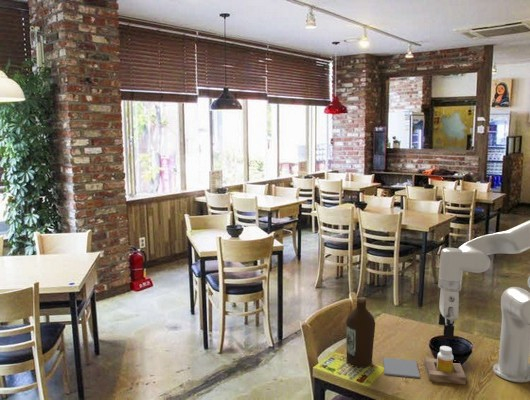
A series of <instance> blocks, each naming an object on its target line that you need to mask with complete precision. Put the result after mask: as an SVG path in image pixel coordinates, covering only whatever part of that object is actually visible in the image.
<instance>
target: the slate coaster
mask: <svg viewBox="0 0 530 400" xmlns="http://www.w3.org/2000/svg"><path fill="white" fill-rule="evenodd" d="M382 363H383V370H384V372H383V373H384V376H392V377H393V376H394V377H402V378H403V377H404V378H411V379H412V378H413V379H421V375H420V370H419V368H418V365H417V364H418V363H417V360H413V359H404V358H394V357H393V358H392V357H382Z"/></svg>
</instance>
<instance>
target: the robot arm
mask: <svg viewBox="0 0 530 400" xmlns="http://www.w3.org/2000/svg"><path fill="white" fill-rule="evenodd" d="M529 249H530V219H529V220H527V221H525V222H523V223H520V224H518V225H516V226H514V227H511V228H509V229H507V230H503V231H499V232H494V233H491V234H485V235H481V236H479V237H476V238H474V239H473V238H472V239H470V240H469V241H467V242H465V243H463V244H462V245H460V246H459V247H458V248H457V247H456V248H455V247H443V248H442V249H441V250H440V257H439V258H440V259H439V271H438V282H437V286H438V288H439V289H440V293H439V294H440V295H439V306H438V307H439V315H438V325H439V326H443V336H444V337H451V338H452V337H453V338H454V335H455V319H456V320H458V319H459V308H460V307H459V306H460V305H459V304H460V294H459V293H460V291H461V290H462V284H463V275H464V274H463V273H464V272H470V273H475V274H479V273H484V272H486V271H488V269H489V268H490V267H491V259H490V257H489V255H494V254H495V255H496V254H510V255H511V254H512V255H513V254H514V255H516V254H521V253H523V252H525V251H527V250H529ZM527 278H528V279H527V286H528V288H530V275H529V276H528V277H527ZM500 309H501V328H500V338H499V339H500V340H499V352H498V354H499V355H498V362H497V363H494V365H493V366H492V371H493V372H494V374H495V375H497V376H498V377H500V378H502V379H503V380H506V381H510V382H514V383H529V382H530V291H528V290H526V289H525V288H522V287H520V286H511V287H508V288H507V289H505V290H504V291H503V293H502V294H501V299H500Z"/></svg>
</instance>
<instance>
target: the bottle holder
mask: <svg viewBox="0 0 530 400" xmlns="http://www.w3.org/2000/svg"><path fill="white" fill-rule="evenodd" d="M424 368H425V371H426V374H427V377H428V381H429V382H439V383H446V384H447V383H448V384H459V385H467V375H466V373H465V372H464V369H463V367H462V364H461V362H460V363H453V373H452V372H442V371H437V358H432V357H431V358H430V357H424Z"/></svg>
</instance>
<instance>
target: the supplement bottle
mask: <svg viewBox="0 0 530 400" xmlns="http://www.w3.org/2000/svg"><path fill="white" fill-rule="evenodd" d="M436 359H437V369H436V371H442V372H452V373H453V360H454V355H453V350H452V347H450V346H448V345H447V346H446V345H441V346H440V347H439V352H438V353H437V357H436Z"/></svg>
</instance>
